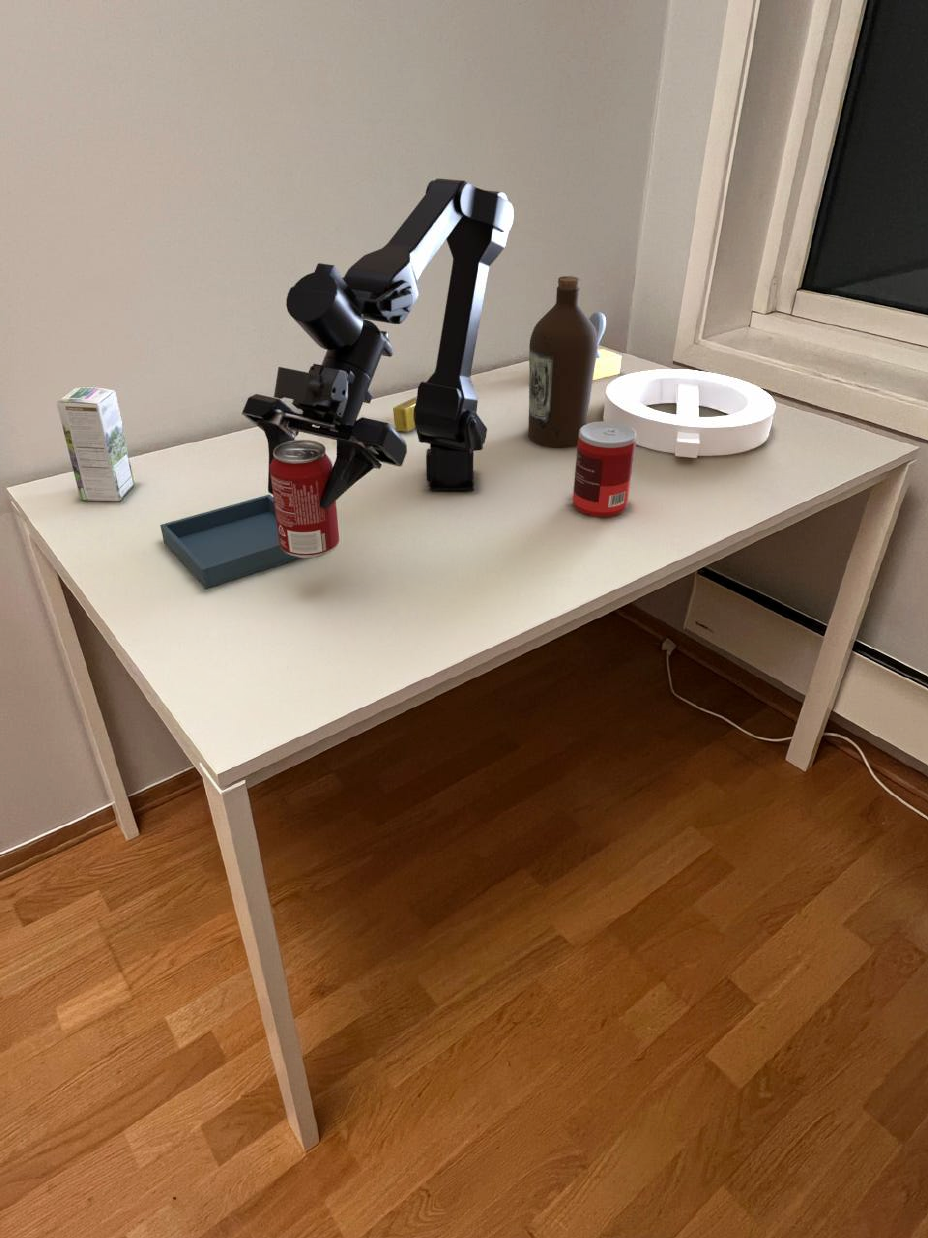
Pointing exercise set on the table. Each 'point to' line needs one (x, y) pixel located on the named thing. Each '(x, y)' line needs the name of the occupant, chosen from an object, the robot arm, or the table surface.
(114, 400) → the syrup box
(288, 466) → the soda can
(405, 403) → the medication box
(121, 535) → the table surface
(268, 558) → the tray
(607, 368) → the rubber stamp
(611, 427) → the canned food
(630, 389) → the ring with crossbar
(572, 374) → the olive oil
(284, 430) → the robot arm
